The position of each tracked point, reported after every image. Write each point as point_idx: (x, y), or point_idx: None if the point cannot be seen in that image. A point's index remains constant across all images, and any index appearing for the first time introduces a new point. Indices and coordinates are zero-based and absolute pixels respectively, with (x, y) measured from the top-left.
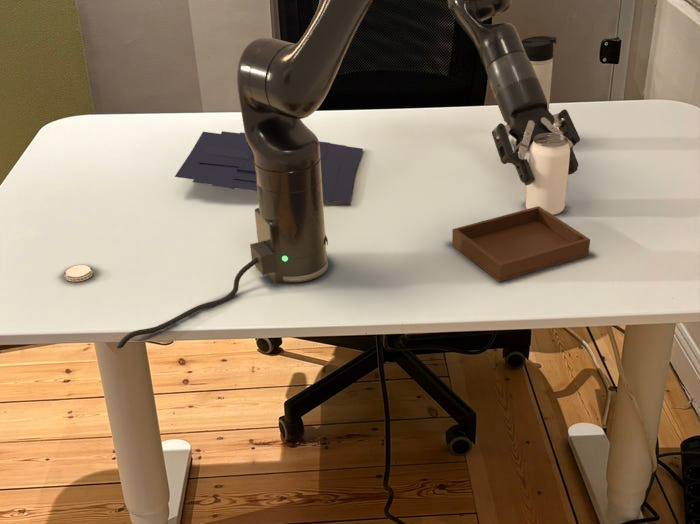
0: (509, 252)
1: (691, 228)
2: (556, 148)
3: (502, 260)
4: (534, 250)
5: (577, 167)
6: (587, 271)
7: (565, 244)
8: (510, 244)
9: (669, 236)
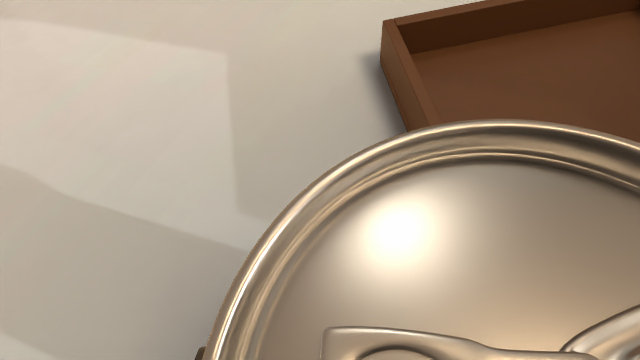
0: (611, 91)
1: (54, 115)
2: (494, 147)
3: (636, 60)
4: (529, 85)
5: (200, 348)
6: (409, 14)
7: (463, 10)
8: (605, 128)
9: (135, 95)
